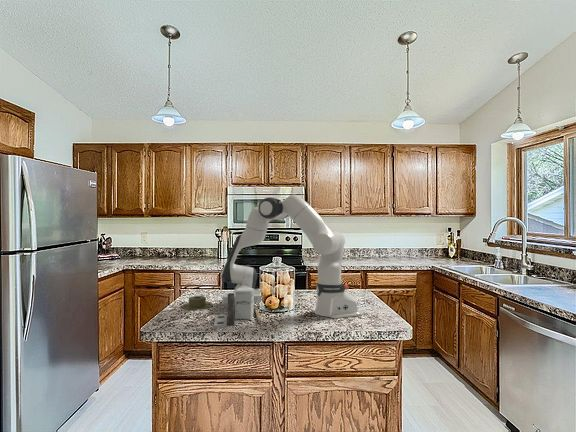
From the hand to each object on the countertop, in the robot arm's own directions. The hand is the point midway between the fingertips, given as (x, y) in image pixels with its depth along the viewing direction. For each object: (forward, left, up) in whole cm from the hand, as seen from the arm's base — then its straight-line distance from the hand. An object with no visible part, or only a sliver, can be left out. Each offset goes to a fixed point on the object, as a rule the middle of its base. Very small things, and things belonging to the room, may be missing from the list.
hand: (244, 302), depth 166 cm
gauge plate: (+10, +10, -6) cm, 16 cm away
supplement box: (0, +4, -6) cm, 7 cm away
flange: (+23, -20, -7) cm, 32 cm away
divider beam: (0, +5, -6) cm, 8 cm away
